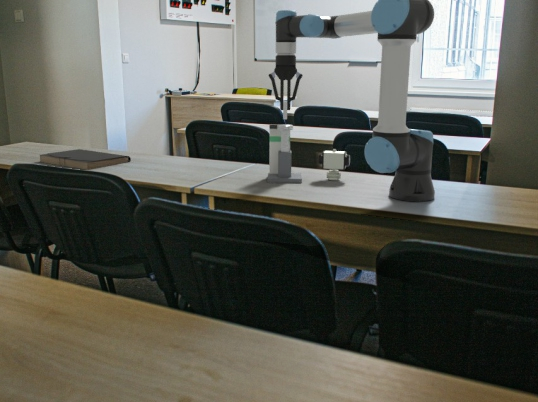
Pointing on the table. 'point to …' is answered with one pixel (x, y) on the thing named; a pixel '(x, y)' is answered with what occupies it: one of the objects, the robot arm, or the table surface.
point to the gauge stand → (280, 161)
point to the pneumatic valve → (334, 162)
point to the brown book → (84, 159)
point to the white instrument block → (283, 135)
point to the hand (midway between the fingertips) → (285, 118)
